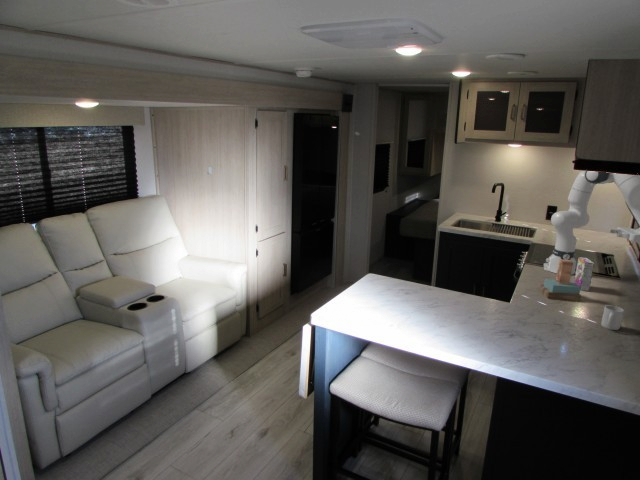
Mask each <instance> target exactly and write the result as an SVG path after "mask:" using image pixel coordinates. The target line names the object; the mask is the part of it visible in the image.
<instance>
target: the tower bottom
mask: <svg viewBox="0 0 640 480" xmlns="http://www.w3.org/2000/svg"><path fill="white" fill-rule="evenodd" d="M539 290H540V292H541V293H542V294H543V295H544V297H545V298H546V299H547V298H548V300H556V299H558V300H559V301H566V300H568V302H576V301H577V302H578V303H581V302H582V301H581V300H582V294H581V293H580V294H568V293H552V292H551V291H549V290H548V289H547V288H546V287H544V284H540V289H539Z"/></svg>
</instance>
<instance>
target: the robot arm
mask: <svg viewBox="0 0 640 480" xmlns="http://www.w3.org/2000/svg"><path fill="white" fill-rule="evenodd" d="M638 175H639V174H638ZM638 175H627V174H616V173H606V172H595V171H586V170H583V171H580V172H579V173H578V174H577V176H576V177H575V180H574V181H573V183H572V186H571V188H570V191H569V193H568V196H567V202H568V203H569V207H568V210H559V211H556V212H554V213H552V215H551V218H550V222H551V223H550V224H551V225H552V226H553V227H554V229H555V234H556V238H555V244H554V245H555V246H554V248H553V250H552V254H551V255H550V256H549V257H548V258H547V257H546V259H545V263H543V269H544V271H547V272H551V273H553V274H557V271H558V266H559V260H560V259H562V260H570V261H572V262H573V267H572V272H571V276H572V275H576V267H577V260H576V258H575V256H576V251H575V250H576V245H577V241H578V240H577V238H576V236H575V235H574V229H580V228H582V227H586V226H587V225H588V224H589V222H590V216H589V213H588V204H589V201H590V199H591V196H592V194H593V191H594V189H595V187H596V185H597V184H598V185H605V184H611V183H614V184H615V186H617V188H618V190H620V191H619V192H621V194H622V196H623V198H624V202H625V204H626V207H627V208H628V211H629V212H630V214H631V216H632V217H633V219H634V221H635V222H636V224H637V228H635V229H634V228H631V227H622V226H617V227H616V228H615V229H612V228H611V229H610V230H609V233H610V234H616V237H618V238H624V239H627V240H629V241H630V242H633V243H636V244H640V175H639V176H638Z"/></svg>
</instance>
